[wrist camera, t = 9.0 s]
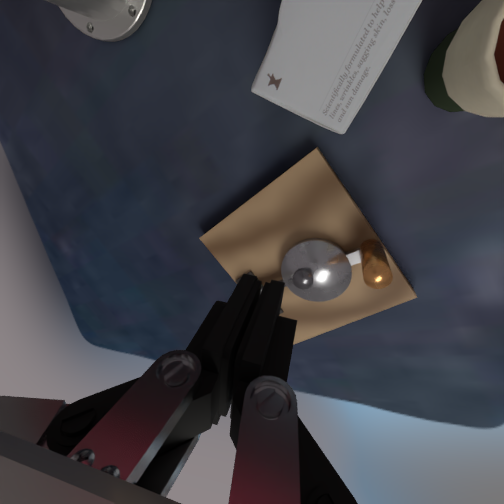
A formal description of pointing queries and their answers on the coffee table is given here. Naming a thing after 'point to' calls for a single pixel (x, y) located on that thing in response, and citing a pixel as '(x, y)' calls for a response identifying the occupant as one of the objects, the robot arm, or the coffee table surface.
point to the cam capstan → (332, 268)
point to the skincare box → (330, 56)
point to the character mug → (470, 64)
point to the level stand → (299, 228)
